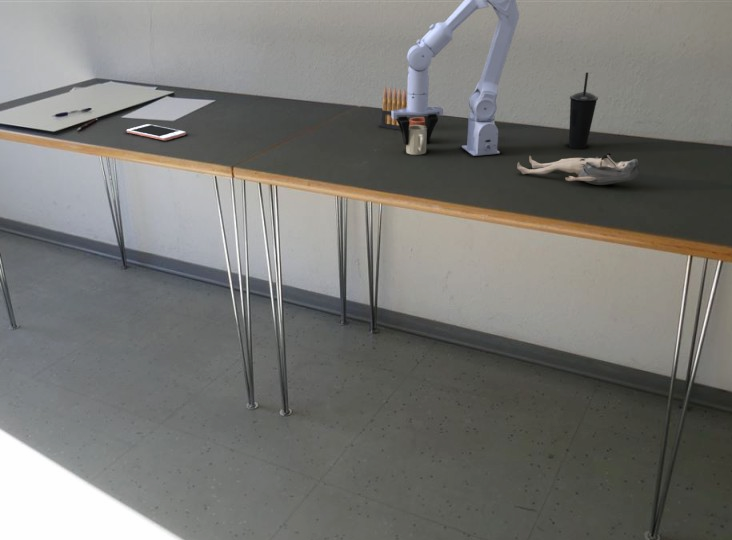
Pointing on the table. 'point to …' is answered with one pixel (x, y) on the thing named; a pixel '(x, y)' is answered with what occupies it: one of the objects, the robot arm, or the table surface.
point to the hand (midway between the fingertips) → (416, 143)
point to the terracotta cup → (417, 121)
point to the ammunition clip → (392, 107)
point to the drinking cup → (581, 117)
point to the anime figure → (589, 169)
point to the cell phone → (156, 132)
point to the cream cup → (417, 140)
